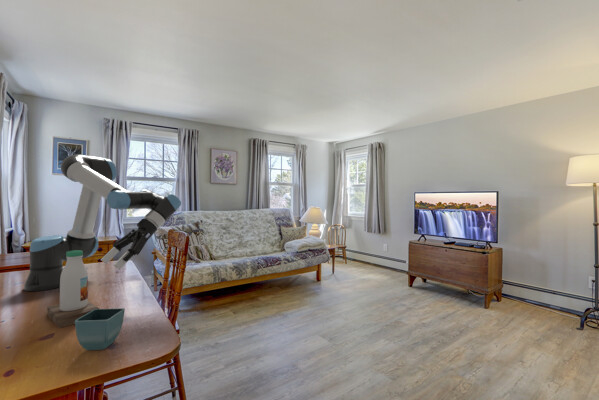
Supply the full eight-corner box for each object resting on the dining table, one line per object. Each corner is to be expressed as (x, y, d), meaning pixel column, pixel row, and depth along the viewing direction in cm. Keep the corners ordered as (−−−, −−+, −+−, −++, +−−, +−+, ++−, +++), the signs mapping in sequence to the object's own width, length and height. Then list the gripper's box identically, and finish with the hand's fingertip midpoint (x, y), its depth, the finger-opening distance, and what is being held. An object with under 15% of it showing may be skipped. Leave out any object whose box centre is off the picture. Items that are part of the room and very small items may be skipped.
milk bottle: (72, 313, 95) (72, 253, 95) (53, 311, 97) (54, 252, 97) (93, 304, 103) (93, 249, 103) (75, 303, 104) (76, 248, 104)
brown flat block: (47, 315, 100) (47, 306, 100) (84, 306, 109) (85, 298, 109) (59, 328, 90) (59, 318, 90) (99, 317, 99) (99, 308, 99)
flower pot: (94, 338, 84) (94, 308, 84) (125, 337, 84) (125, 307, 85) (72, 354, 75) (73, 321, 75) (107, 353, 76) (108, 320, 76)
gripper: (171, 231, 115) (130, 276, 103) (144, 227, 130) (105, 265, 118) (158, 219, 111) (114, 263, 99) (132, 216, 126) (91, 254, 114)
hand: (109, 264), depth 109 cm, fingers open, 13 cm apart
